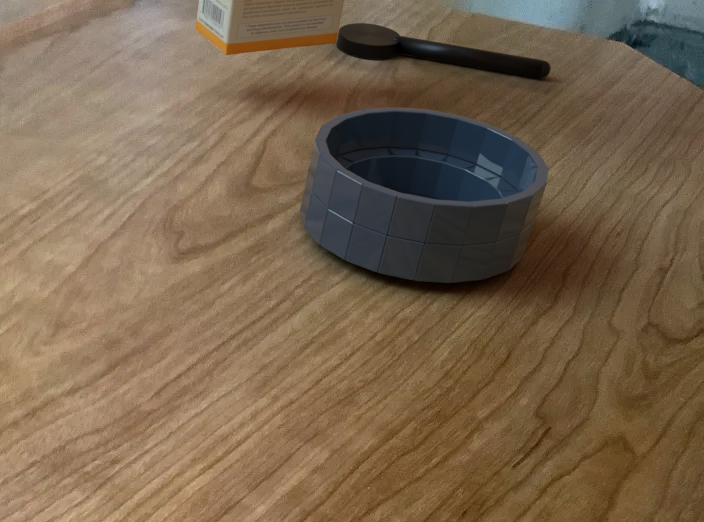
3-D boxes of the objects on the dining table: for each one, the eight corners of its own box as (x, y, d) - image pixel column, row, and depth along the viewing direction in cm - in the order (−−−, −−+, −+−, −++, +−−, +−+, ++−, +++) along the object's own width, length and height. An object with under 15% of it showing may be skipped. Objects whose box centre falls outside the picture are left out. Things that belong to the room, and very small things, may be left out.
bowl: (404, 172, 85) (424, 92, 81) (566, 258, 77) (596, 174, 74) (253, 216, 79) (269, 132, 76) (413, 314, 72) (437, 226, 68)
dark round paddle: (549, 68, 99) (554, 51, 98) (545, 90, 96) (551, 73, 95) (341, 32, 102) (345, 16, 102) (331, 52, 99) (334, 36, 98)
